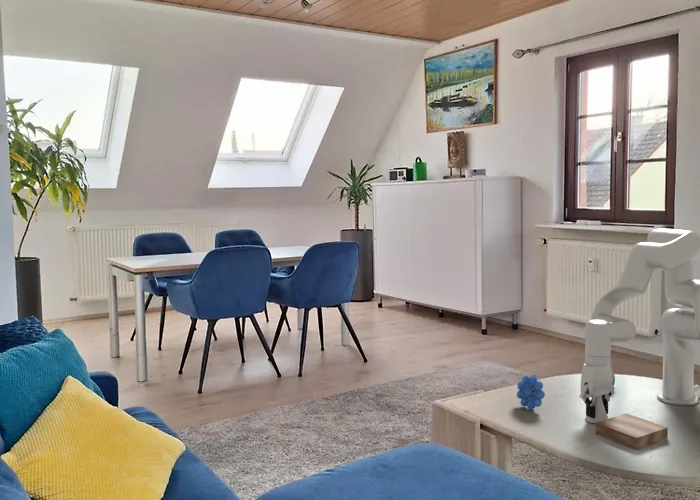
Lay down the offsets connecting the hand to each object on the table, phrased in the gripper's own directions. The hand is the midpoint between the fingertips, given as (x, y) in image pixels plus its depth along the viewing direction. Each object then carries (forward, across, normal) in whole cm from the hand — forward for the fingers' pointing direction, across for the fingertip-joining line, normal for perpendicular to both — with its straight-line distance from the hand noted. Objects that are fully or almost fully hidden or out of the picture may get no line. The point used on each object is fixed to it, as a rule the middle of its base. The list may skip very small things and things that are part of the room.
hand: (597, 414), depth 207 cm
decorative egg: (+2, -27, -20) cm, 34 cm away
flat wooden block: (+3, +2, +14) cm, 14 cm away
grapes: (+2, +9, -19) cm, 21 cm away
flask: (+2, 0, 0) cm, 2 cm away
